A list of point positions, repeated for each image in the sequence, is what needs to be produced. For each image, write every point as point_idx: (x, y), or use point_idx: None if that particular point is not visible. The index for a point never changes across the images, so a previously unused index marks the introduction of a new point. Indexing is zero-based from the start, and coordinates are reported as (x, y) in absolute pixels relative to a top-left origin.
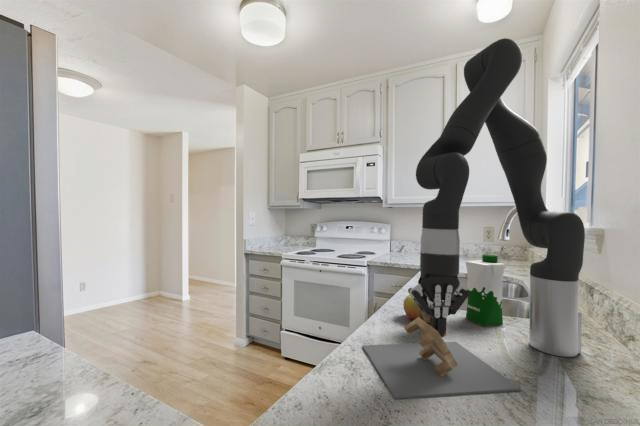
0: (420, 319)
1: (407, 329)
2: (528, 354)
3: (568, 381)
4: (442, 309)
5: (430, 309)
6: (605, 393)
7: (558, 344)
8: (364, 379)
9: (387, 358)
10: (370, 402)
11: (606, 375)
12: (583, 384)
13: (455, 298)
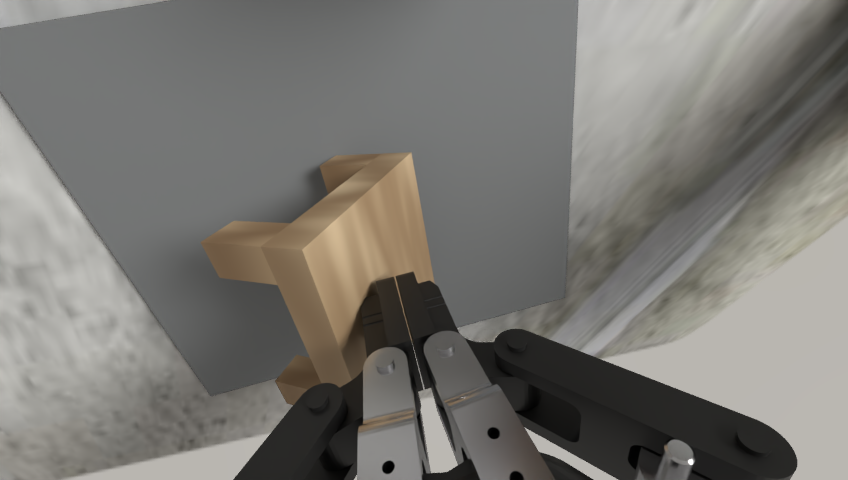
0: (310, 286)
1: (226, 276)
2: (787, 57)
3: (716, 230)
4: (448, 435)
5: (353, 476)
6: (737, 267)
7: None
8: (93, 330)
9: (164, 188)
10: (143, 414)
11: (841, 183)
12: (735, 238)
13: (609, 444)
